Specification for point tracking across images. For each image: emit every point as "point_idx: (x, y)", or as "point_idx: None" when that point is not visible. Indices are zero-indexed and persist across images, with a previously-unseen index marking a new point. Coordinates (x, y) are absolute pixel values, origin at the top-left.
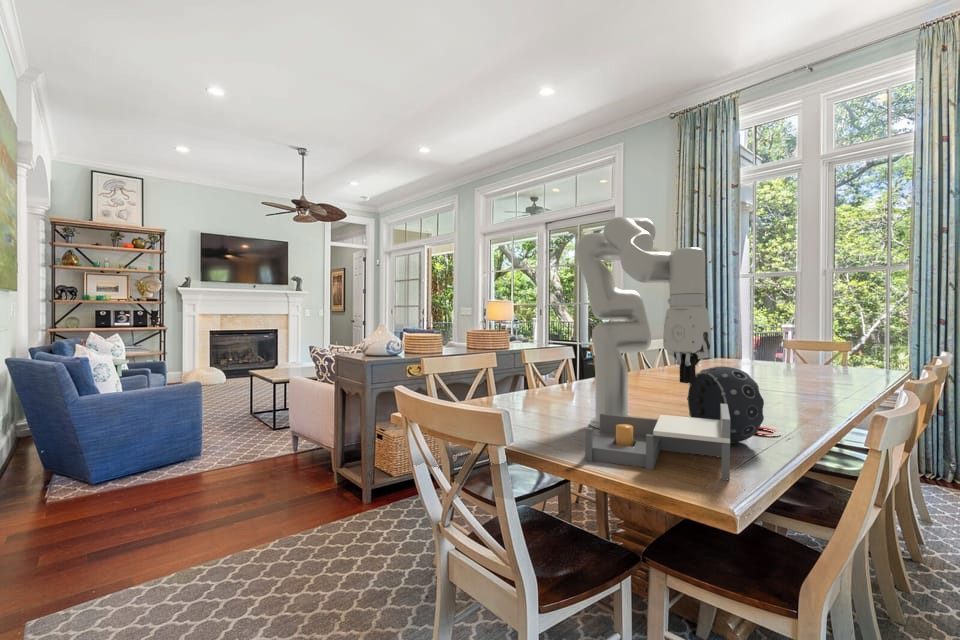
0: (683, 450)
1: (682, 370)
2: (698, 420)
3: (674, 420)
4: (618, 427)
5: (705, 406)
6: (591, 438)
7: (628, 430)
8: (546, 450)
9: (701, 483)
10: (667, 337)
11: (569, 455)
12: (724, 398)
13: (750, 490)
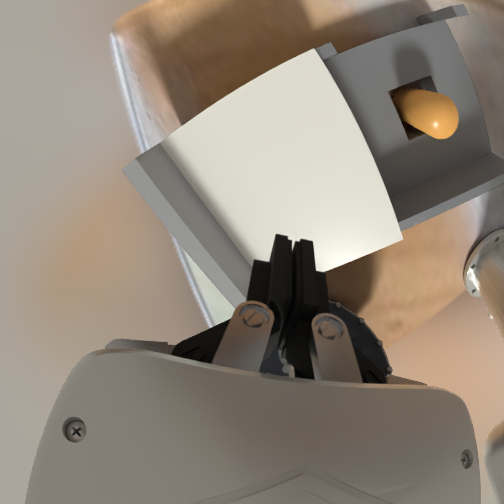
0: None
1: (296, 282)
2: None
3: (346, 208)
4: (443, 94)
5: None
6: (441, 9)
7: (419, 101)
8: (501, 33)
9: (202, 74)
10: (446, 492)
11: (464, 28)
12: (283, 358)
13: (142, 122)
